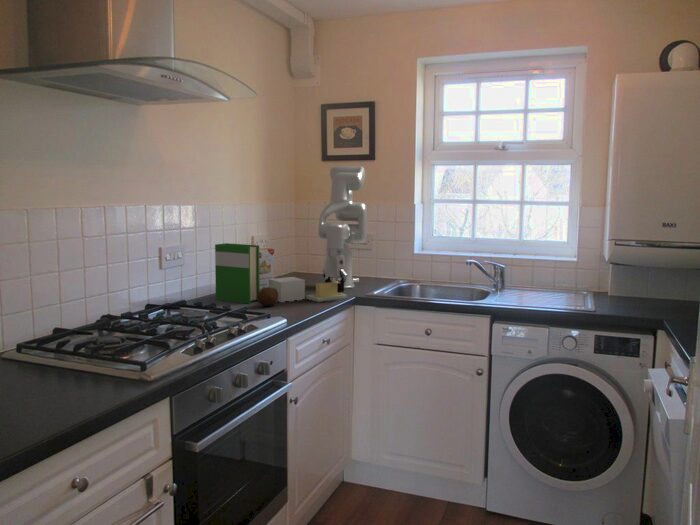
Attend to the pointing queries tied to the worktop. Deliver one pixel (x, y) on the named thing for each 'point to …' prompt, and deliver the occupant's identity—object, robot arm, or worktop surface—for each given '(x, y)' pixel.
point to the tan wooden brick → (327, 289)
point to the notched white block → (288, 288)
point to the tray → (326, 298)
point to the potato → (268, 296)
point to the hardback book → (237, 272)
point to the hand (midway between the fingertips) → (334, 290)
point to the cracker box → (265, 267)
